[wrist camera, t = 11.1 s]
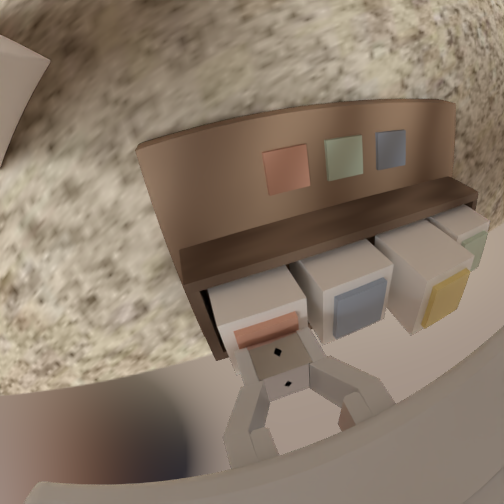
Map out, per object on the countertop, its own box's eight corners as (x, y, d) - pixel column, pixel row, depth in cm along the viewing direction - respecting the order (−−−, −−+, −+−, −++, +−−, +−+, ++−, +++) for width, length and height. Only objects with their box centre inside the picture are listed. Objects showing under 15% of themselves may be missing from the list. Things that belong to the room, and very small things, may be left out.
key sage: (446, 194, 15) (493, 223, 12) (439, 238, 17) (480, 270, 14) (411, 204, 15) (462, 238, 12) (405, 252, 17) (447, 290, 13)
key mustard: (423, 218, 13) (479, 259, 10) (415, 269, 15) (459, 311, 12) (375, 235, 13) (432, 285, 10) (370, 288, 15) (414, 340, 12)
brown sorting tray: (438, 99, 14) (489, 112, 11) (428, 240, 20) (463, 268, 17) (138, 144, 12) (126, 166, 8) (200, 319, 18) (212, 373, 14)
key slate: (348, 223, 14) (397, 267, 11) (347, 275, 16) (386, 322, 13) (286, 242, 14) (326, 296, 10) (292, 294, 16) (325, 350, 12)
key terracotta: (273, 246, 14) (309, 302, 10) (280, 298, 16) (311, 355, 12) (202, 267, 13) (218, 332, 10) (219, 318, 15) (238, 380, 12)
